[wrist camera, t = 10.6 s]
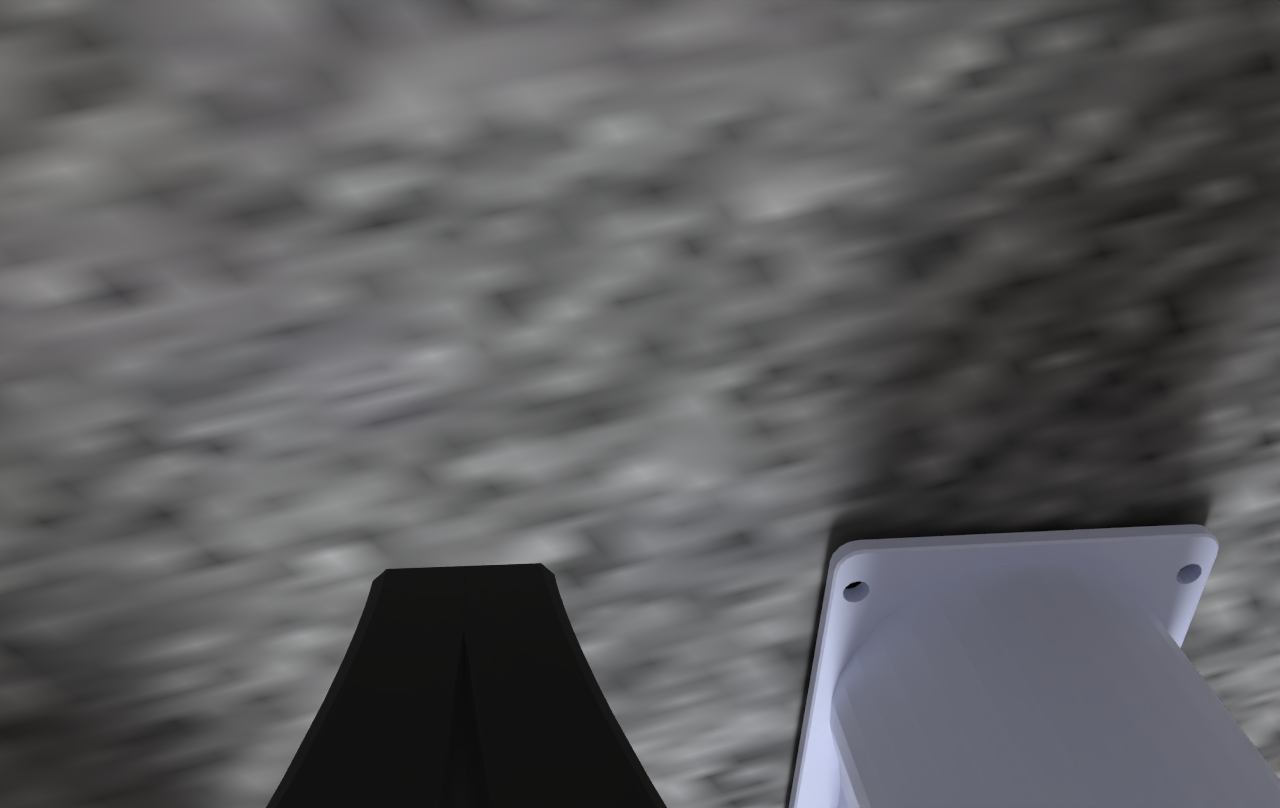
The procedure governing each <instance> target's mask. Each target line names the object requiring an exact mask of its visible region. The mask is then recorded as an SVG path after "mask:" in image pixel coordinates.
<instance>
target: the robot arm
mask: <svg viewBox="0 0 1280 808" xmlns="http://www.w3.org/2000/svg"><path fill="white" fill-rule="evenodd" d="M1218 549H1219V543H1218V541H1217V538H1216V537H1215V536H1214V535H1213V534H1212V533H1211V532H1210V530H1209V529H1207V528H1206V527H1204V526H1203V525H1197V524H1188V525H1167V526H1146V527H1124V528H1103V529H1082V530H1061V531H1039V532H1018V533H997V534H976V535H954V536H933V537H912V538H890V539H869V540H856V541H851V542H848V543H846V544H844V545H842V546H840V547H839V548H838V549H837V550H836V551H835V552H834V553H833V555H832V558H831V560H830V564H829V570H828V576H827V582H826V588H825V594H824V600H823V606H822V612H821V618H820V624H819V630H818V636H817V642H816V648H815V654H814V660H813V665H812V671H811V677H810V683H809V689H808V695H807V701H806V707H805V713H804V719H803V725H802V731H801V737H800V743H799V749H798V755H797V761H796V767H795V773H794V779H793V785H792V791H791V797H790V803H789V808H1280V779H1279V778H1278V776H1277V775H1276V774H1275V772H1274V771H1273V770H1272V768H1271V767H1270V766H1269V764H1268V763H1267V762H1266V761H1265V759H1264V758H1263V757H1262V755H1261V754H1260V753H1259V751H1258V750H1257V749H1256V747H1255V746H1254V745H1253V743H1252V742H1251V741H1250V739H1249V738H1248V737H1247V735H1246V734H1245V733H1244V732H1243V730H1242V729H1241V728H1240V726H1239V725H1238V724H1237V722H1236V721H1235V720H1234V718H1233V717H1232V716H1231V714H1230V713H1229V712H1228V710H1227V709H1226V708H1225V706H1224V705H1223V704H1222V703H1221V701H1220V700H1219V699H1218V697H1217V696H1216V695H1215V693H1214V692H1213V691H1212V689H1211V688H1210V687H1209V685H1208V684H1207V683H1206V681H1205V680H1204V679H1203V677H1202V676H1201V675H1200V674H1199V672H1198V671H1197V670H1196V668H1195V667H1194V666H1193V664H1192V663H1191V662H1190V660H1189V659H1188V658H1187V656H1186V655H1185V654H1184V652H1183V651H1182V650H1181V646H1182V643H1183V640H1184V638H1185V635H1186V633H1187V630H1188V628H1189V625H1190V622H1191V620H1192V617H1193V615H1194V612H1195V610H1196V607H1197V605H1198V602H1199V599H1200V597H1201V594H1202V592H1203V589H1204V587H1205V584H1206V581H1207V579H1208V576H1209V574H1210V571H1211V569H1212V566H1213V563H1214V561H1215V558H1216V556H1217V553H1218ZM1186 565H1188V566H1187V567H1185V566H1186ZM1183 567H1185V568H1184V569H1182V568H1183ZM1180 569H1182V570H1180ZM857 581H860V582H861V583H860V584H859V585H858V586H856V587H855V588H851V589H845V587H846V586H848V585H849V584H850V583H853V582H857ZM266 808H667V807H666V805H665V804H664V802H663V800H662V799H661V797H660V795H659V794H658V792H657V790H656V789H655V787H654V785H653V784H652V782H651V780H650V779H649V777H648V775H647V774H646V772H645V770H644V768H643V766H642V765H641V763H640V761H639V759H638V757H637V756H636V754H635V752H634V750H633V749H632V747H631V745H630V743H629V741H628V740H627V738H626V736H625V734H624V732H623V731H622V729H621V727H620V725H619V724H618V722H617V720H616V718H615V716H614V715H613V713H612V711H611V709H610V707H609V705H608V703H607V701H606V699H605V697H604V695H603V693H602V691H601V689H600V687H599V685H598V683H597V681H596V679H595V677H594V675H593V673H592V671H591V668H590V666H589V664H588V662H587V660H586V658H585V656H584V654H583V652H582V649H581V647H580V645H579V642H578V640H577V638H576V635H575V633H574V631H573V628H572V626H571V623H570V621H569V618H568V616H567V613H566V611H565V608H564V605H563V602H562V599H561V596H560V593H559V590H558V587H557V583H556V579H555V575H554V574H553V573H552V572H551V571H550V570H548V569H547V568H546V567H545V566H544V565H542V564H541V563H536V564H509V565H483V566H456V567H429V568H403V569H386V570H385V571H384V572H383V573H382V574H381V575H379V576H378V577H377V578H376V579H375V580H374V581H373V582H372V586H371V589H370V592H369V596H368V599H367V602H366V605H365V608H364V610H363V613H362V616H361V618H360V621H359V624H358V626H357V629H356V631H355V634H354V636H353V639H352V641H351V643H350V646H349V648H348V650H347V652H346V655H345V657H344V659H343V661H342V664H341V666H340V668H339V670H338V672H337V674H336V676H335V678H334V681H333V683H332V685H331V687H330V689H329V691H328V693H327V695H326V698H325V700H324V702H323V704H322V705H321V707H320V709H319V711H318V713H317V715H316V717H315V719H314V721H313V722H312V724H311V726H310V728H309V730H308V732H307V734H306V736H305V738H304V739H303V741H302V743H301V745H300V747H299V749H298V751H297V753H296V755H295V756H294V758H293V760H292V762H291V764H290V766H289V768H288V770H287V772H286V773H285V775H284V777H283V779H282V781H281V783H280V784H279V786H278V788H277V790H276V791H275V793H274V795H273V797H272V798H271V800H270V802H269V803H268V805H267V807H266Z"/></svg>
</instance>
